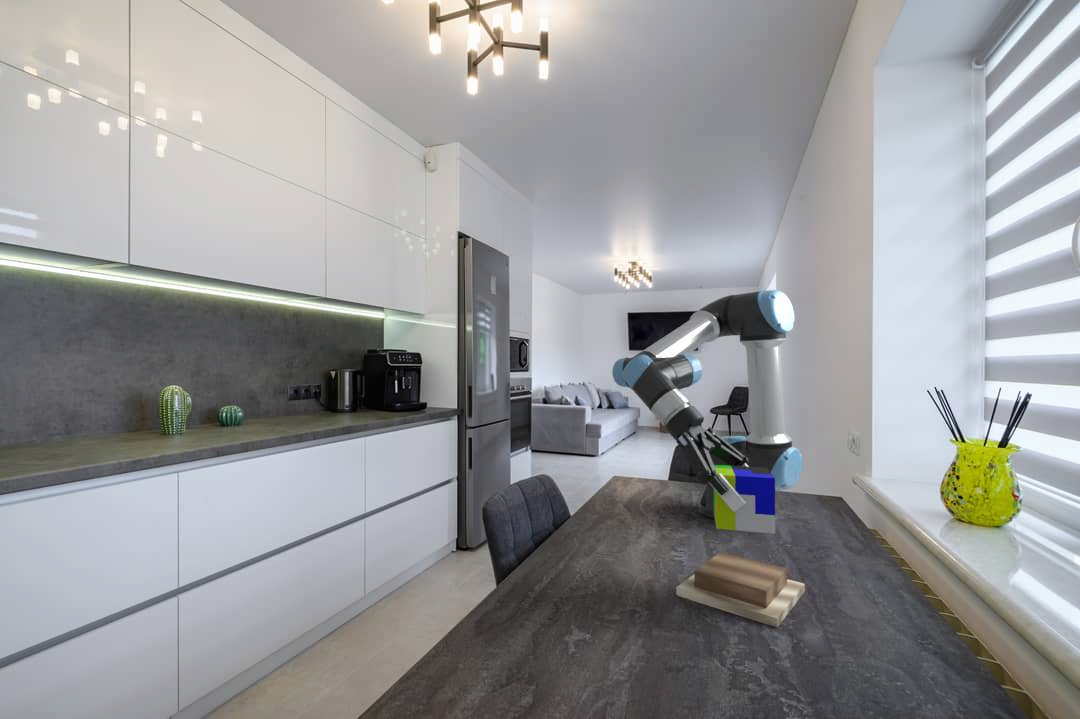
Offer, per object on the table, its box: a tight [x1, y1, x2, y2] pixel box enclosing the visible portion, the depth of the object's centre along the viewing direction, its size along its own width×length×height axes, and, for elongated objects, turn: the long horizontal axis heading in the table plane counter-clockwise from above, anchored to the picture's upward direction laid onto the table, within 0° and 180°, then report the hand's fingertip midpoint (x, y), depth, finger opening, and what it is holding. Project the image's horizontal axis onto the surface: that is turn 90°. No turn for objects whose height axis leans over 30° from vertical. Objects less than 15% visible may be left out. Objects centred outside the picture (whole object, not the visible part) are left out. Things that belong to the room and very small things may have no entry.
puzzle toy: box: [714, 465, 776, 535], centre depth 96 cm, size 10×10×10 cm
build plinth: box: [675, 551, 806, 628], centre depth 95 cm, size 18×18×4 cm
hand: (752, 500), depth 94 cm, fingers closed on puzzle toy, 13 cm apart
